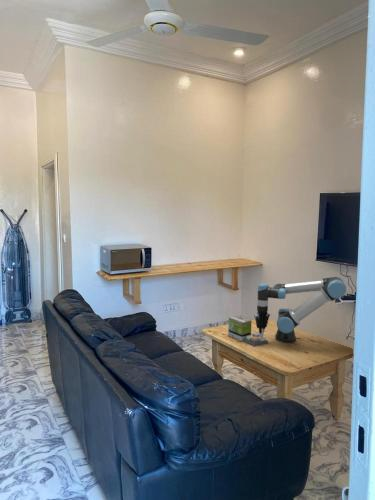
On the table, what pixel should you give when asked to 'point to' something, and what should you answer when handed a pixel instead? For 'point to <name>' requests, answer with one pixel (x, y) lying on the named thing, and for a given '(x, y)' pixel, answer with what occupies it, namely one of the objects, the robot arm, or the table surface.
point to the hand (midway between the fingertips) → (261, 337)
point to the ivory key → (262, 339)
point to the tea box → (239, 327)
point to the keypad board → (255, 343)
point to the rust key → (255, 339)
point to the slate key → (255, 335)
